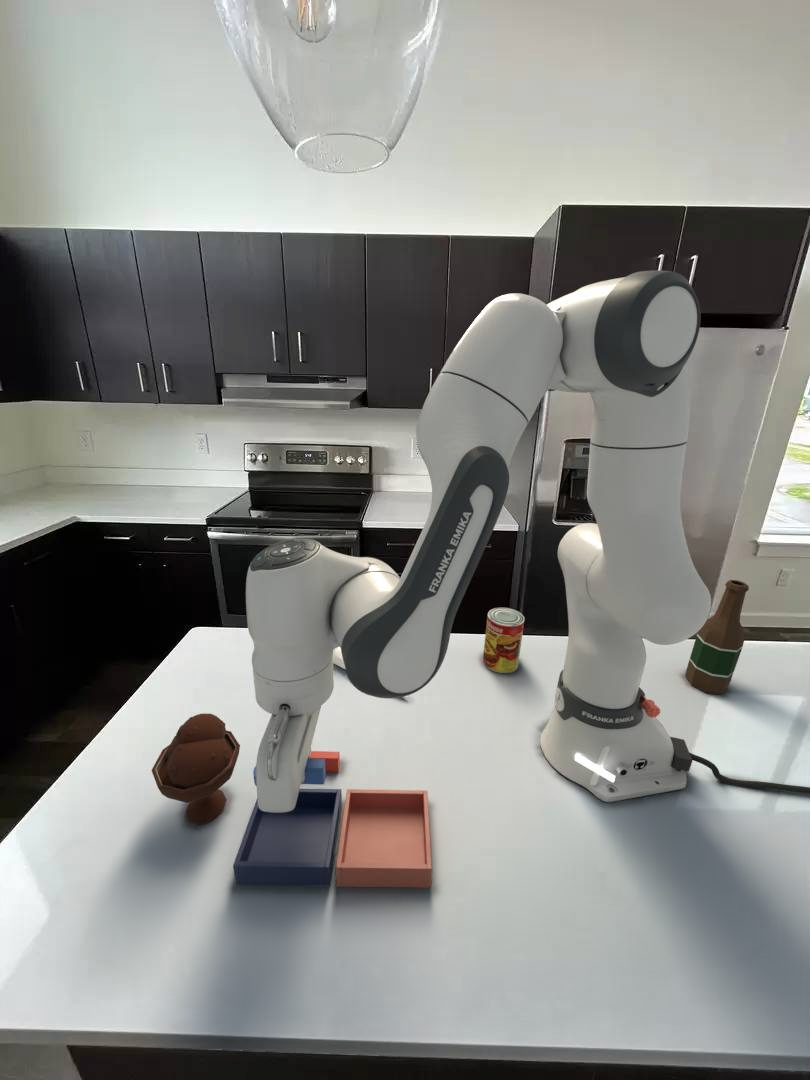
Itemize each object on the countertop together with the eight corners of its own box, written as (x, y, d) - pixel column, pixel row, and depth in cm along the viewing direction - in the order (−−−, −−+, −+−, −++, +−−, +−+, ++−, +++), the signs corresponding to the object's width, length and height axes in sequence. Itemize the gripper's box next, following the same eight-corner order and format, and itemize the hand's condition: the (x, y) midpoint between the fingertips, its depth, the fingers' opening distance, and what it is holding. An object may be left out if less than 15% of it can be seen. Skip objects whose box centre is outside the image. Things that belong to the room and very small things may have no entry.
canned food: (478, 652, 100) (483, 607, 96) (511, 651, 101) (517, 606, 97) (488, 674, 93) (493, 626, 89) (523, 672, 94) (530, 625, 89)
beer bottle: (726, 680, 93) (760, 580, 84) (728, 700, 87) (766, 595, 78) (684, 667, 97) (713, 571, 88) (683, 686, 90) (715, 584, 82)
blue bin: (342, 806, 63) (341, 788, 62) (330, 886, 53) (329, 867, 52) (262, 805, 63) (260, 787, 62) (236, 885, 53) (232, 866, 52)
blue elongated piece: (326, 769, 56) (326, 753, 55) (322, 791, 53) (321, 774, 52) (259, 767, 56) (257, 751, 55) (250, 789, 53) (248, 772, 52)
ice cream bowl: (166, 789, 65) (148, 710, 60) (244, 766, 69) (233, 690, 64) (159, 856, 56) (137, 770, 51) (249, 824, 60) (237, 742, 55)
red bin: (426, 807, 63) (427, 790, 62) (430, 887, 53) (431, 869, 52) (347, 806, 63) (346, 789, 62) (336, 886, 53) (335, 867, 52)
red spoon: (340, 760, 71) (340, 747, 70) (337, 776, 68) (337, 763, 67) (287, 759, 71) (285, 746, 70) (281, 775, 68) (280, 762, 67)
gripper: (301, 751, 39) (308, 853, 44) (335, 630, 58) (337, 711, 63) (232, 749, 39) (247, 852, 44) (289, 629, 58) (295, 710, 63)
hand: (300, 768), depth 54 cm, fingers closed on blue elongated piece
